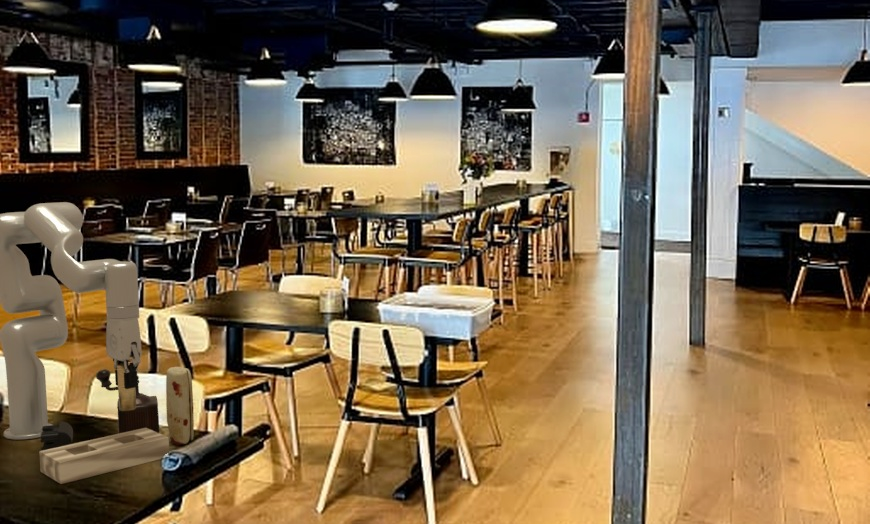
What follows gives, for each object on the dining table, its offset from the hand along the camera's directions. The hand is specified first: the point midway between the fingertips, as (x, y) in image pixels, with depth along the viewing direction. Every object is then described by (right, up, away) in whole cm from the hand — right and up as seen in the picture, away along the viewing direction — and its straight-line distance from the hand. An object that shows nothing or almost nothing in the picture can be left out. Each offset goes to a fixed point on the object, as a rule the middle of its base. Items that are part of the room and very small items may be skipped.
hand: (126, 385), depth 225 cm
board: (-4, -19, -2) cm, 19 cm away
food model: (+9, -17, +15) cm, 24 cm away
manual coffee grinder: (-6, -17, +21) cm, 27 cm away
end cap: (-20, -18, +8) cm, 28 cm away
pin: (0, -6, +1) cm, 6 cm away
